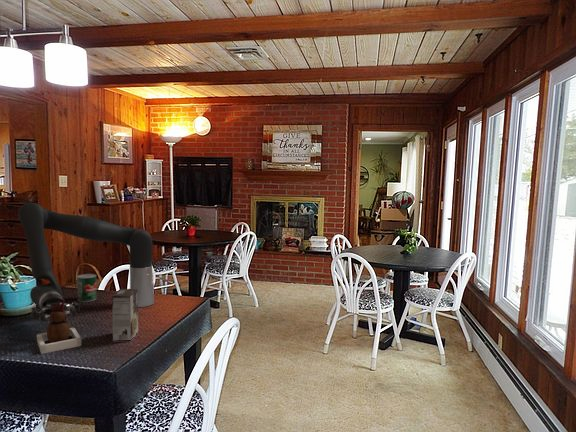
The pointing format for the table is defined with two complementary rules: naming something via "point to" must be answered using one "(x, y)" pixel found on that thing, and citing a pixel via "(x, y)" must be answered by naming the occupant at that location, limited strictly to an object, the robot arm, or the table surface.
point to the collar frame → (58, 345)
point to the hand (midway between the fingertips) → (58, 316)
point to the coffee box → (125, 314)
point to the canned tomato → (86, 287)
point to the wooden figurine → (58, 324)
